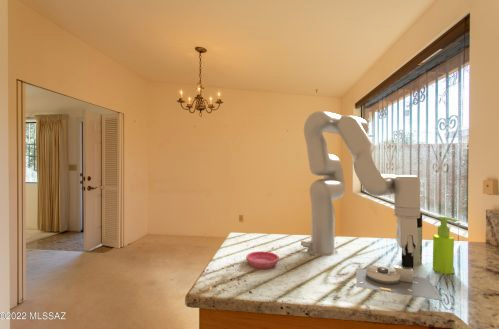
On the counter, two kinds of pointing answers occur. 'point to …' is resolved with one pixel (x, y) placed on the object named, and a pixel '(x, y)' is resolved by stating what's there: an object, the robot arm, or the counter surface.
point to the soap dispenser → (443, 248)
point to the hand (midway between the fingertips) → (407, 266)
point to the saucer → (262, 259)
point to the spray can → (418, 251)
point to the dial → (389, 274)
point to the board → (400, 286)
